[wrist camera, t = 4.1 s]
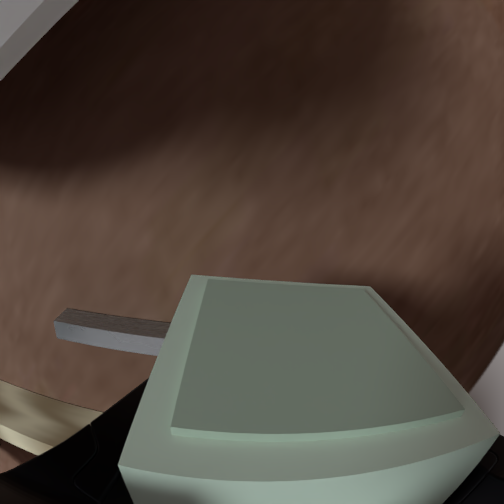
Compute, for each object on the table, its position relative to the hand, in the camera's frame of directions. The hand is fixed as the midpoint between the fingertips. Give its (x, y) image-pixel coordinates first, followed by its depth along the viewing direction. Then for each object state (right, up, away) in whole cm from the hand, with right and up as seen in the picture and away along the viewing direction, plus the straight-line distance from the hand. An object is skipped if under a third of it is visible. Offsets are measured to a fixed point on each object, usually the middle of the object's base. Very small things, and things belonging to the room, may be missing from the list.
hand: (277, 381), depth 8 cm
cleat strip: (-7, 0, +7) cm, 10 cm away
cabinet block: (0, 0, +1) cm, 1 cm away
